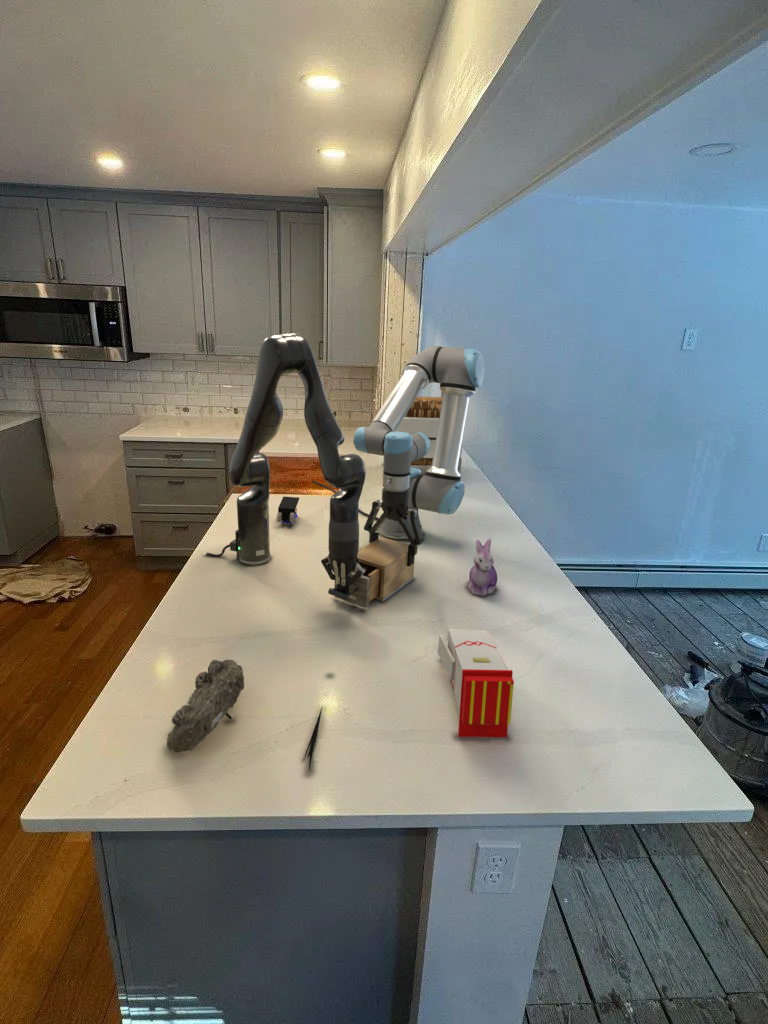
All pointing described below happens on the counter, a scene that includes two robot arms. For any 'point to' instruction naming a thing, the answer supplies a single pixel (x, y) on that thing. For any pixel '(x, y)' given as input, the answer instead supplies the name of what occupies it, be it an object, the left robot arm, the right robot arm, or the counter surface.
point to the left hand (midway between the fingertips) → (343, 596)
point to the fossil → (206, 705)
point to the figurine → (483, 571)
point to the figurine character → (287, 510)
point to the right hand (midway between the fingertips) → (392, 559)
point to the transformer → (425, 425)
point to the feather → (313, 740)
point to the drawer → (361, 587)
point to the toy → (478, 682)
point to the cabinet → (388, 564)
